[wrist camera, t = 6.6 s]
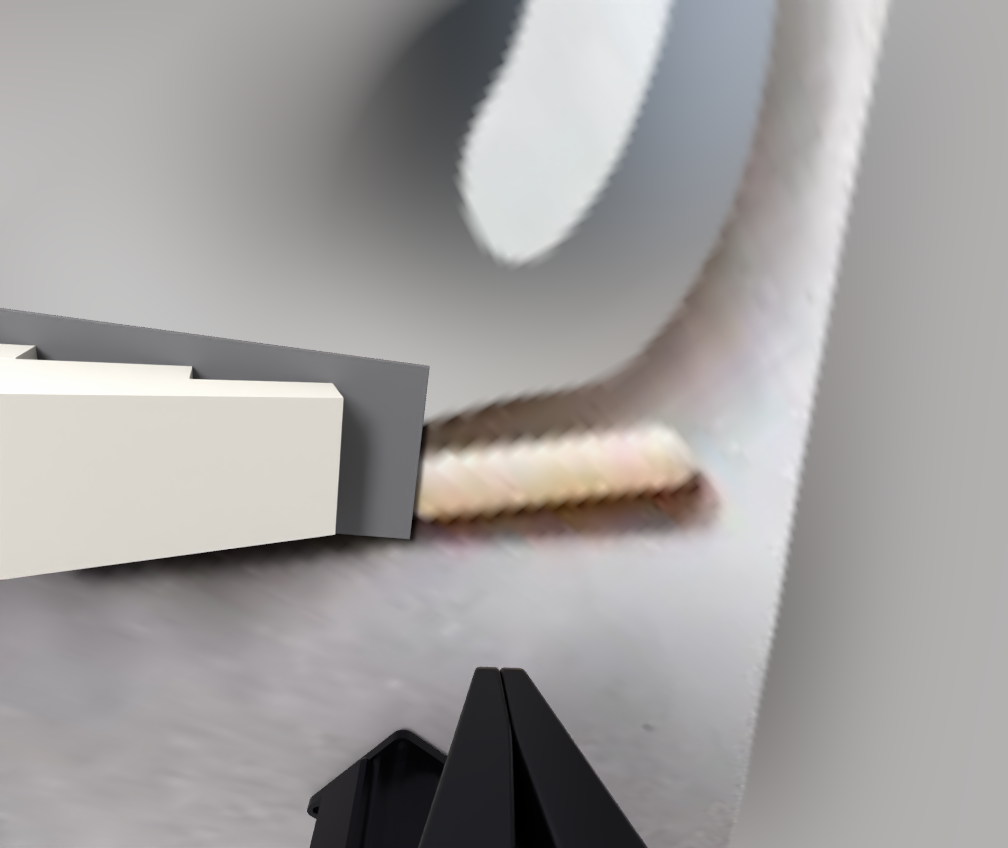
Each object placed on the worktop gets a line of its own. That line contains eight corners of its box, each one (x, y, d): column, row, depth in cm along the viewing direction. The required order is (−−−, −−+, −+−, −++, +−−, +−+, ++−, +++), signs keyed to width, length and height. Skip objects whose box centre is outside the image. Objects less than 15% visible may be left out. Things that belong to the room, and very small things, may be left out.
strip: (429, 366, 17) (429, 367, 16) (410, 535, 19) (409, 538, 18) (-345, 261, 13) (-362, 261, 13) (-264, 482, 15) (-277, 486, 15)
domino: (335, 534, 16) (-42, 585, 12) (325, 509, 18) (-13, 545, 13) (343, 397, 15) (-85, 392, 10) (332, 383, 16) (-47, 372, 12)
